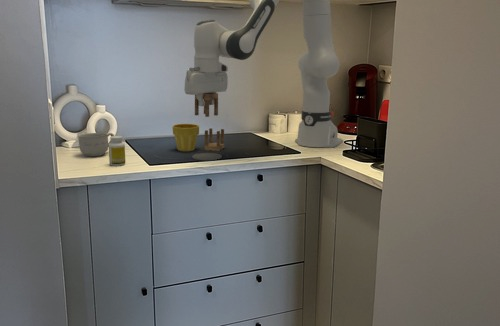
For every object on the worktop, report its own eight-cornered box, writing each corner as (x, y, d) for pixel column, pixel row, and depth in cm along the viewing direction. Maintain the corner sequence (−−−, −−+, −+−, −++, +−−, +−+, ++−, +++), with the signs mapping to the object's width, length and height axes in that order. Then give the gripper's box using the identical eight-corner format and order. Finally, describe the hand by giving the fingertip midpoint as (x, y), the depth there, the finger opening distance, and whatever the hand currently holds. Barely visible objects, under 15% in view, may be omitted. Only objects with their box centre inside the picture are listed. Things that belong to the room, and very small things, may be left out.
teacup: (83, 159, 182) (82, 137, 180) (75, 153, 190) (74, 133, 188) (121, 155, 189) (120, 134, 187) (111, 150, 198) (110, 129, 196)
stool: (205, 113, 188) (205, 92, 186) (217, 115, 184) (218, 93, 183) (194, 115, 183) (194, 93, 181) (207, 116, 180) (207, 94, 178)
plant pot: (194, 153, 194) (194, 128, 192) (169, 151, 196) (168, 127, 194) (202, 147, 204) (202, 124, 202) (178, 146, 206) (177, 122, 204)
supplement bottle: (128, 164, 175) (127, 136, 173) (115, 167, 171) (113, 138, 169) (119, 161, 179) (118, 134, 176) (106, 164, 175) (104, 136, 172)
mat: (205, 152, 195) (205, 151, 195) (227, 156, 189) (227, 155, 189) (186, 157, 186) (186, 156, 186) (208, 162, 180) (208, 160, 180)
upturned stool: (210, 147, 205) (210, 128, 204) (224, 148, 204) (224, 129, 202) (204, 150, 200) (204, 130, 198) (219, 151, 198) (219, 131, 196)
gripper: (193, 68, 170) (194, 108, 173) (230, 66, 186) (230, 103, 189) (180, 67, 173) (180, 107, 176) (217, 65, 190) (217, 102, 193)
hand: (206, 105), depth 183 cm, fingers closed on stool, 4 cm apart
